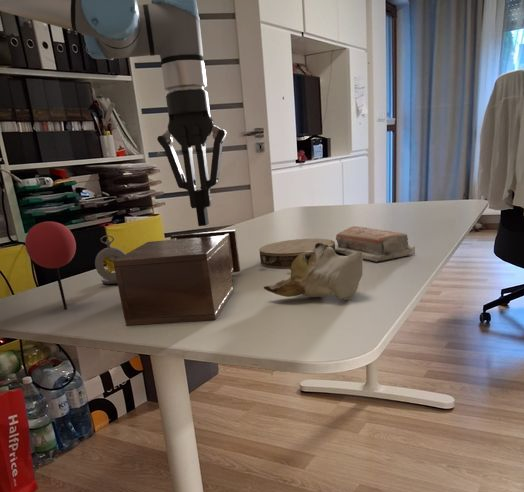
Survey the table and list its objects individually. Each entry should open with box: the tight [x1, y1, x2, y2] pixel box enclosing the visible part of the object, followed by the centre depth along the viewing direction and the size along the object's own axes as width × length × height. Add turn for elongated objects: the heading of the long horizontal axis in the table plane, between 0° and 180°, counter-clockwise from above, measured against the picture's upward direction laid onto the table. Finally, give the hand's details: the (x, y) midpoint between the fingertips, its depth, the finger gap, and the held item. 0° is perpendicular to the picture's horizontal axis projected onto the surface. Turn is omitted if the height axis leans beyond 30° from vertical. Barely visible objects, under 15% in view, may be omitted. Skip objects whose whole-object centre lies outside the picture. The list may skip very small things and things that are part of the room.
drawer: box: [169, 229, 241, 276], centre depth 97 cm, size 20×13×8 cm, turn 173°
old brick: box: [335, 225, 416, 263], centre depth 109 cm, size 18×5×10 cm
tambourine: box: [258, 238, 336, 269], centre depth 110 cm, size 16×16×3 cm
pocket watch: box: [94, 234, 126, 285], centre depth 106 cm, size 8×8×10 cm
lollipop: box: [24, 221, 77, 310], centre depth 89 cm, size 8×8×15 cm
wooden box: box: [113, 235, 234, 326], centre depth 83 cm, size 16×14×10 cm
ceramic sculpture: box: [263, 243, 364, 301], centre depth 81 cm, size 11×9×15 cm
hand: (203, 224), depth 102 cm, fingers closed
